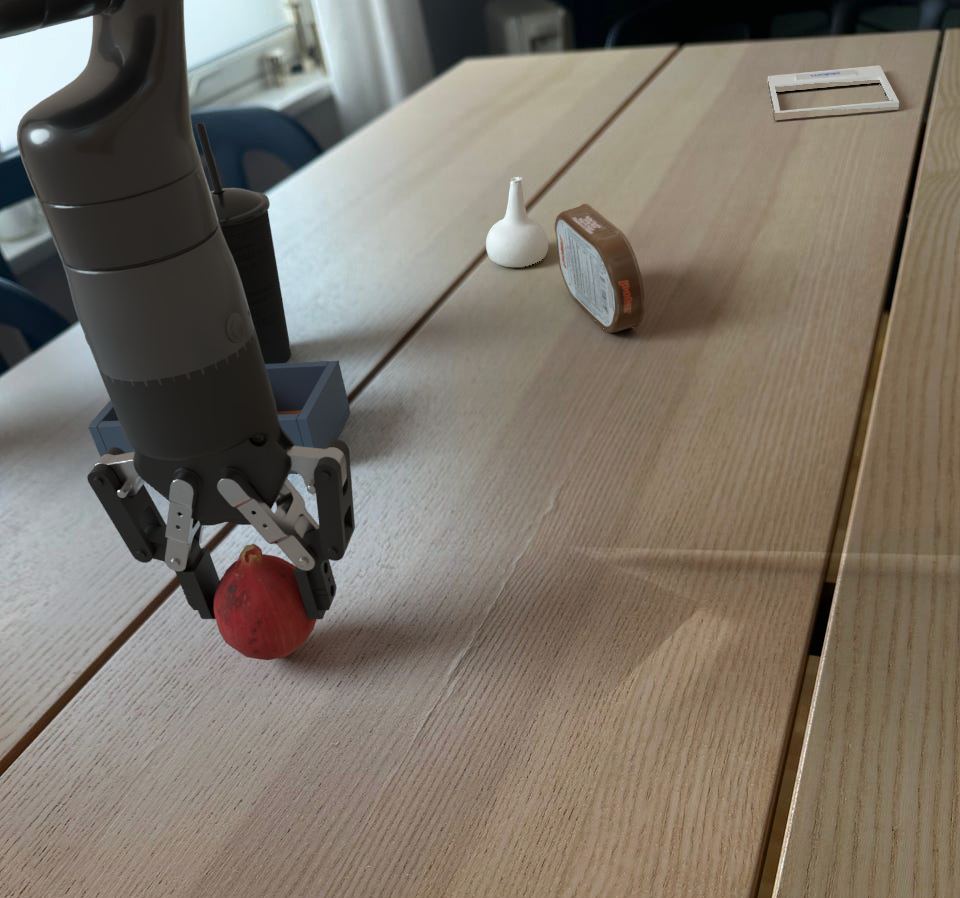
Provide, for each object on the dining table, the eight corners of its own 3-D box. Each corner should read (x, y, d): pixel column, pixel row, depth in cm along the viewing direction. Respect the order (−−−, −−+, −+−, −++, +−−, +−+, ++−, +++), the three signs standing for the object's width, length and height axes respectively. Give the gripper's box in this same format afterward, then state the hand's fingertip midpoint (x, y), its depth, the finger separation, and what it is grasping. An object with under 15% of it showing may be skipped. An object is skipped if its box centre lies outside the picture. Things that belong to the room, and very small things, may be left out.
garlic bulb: (494, 249, 107) (485, 169, 101) (553, 246, 105) (547, 165, 100) (482, 273, 102) (472, 191, 97) (544, 271, 101) (537, 187, 95)
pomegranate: (273, 703, 58) (234, 594, 53) (215, 663, 61) (172, 557, 56) (348, 647, 61) (318, 538, 56) (288, 612, 64) (255, 506, 59)
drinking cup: (283, 381, 89) (217, 137, 76) (209, 377, 92) (132, 141, 79) (320, 342, 94) (264, 108, 81) (249, 339, 97) (183, 112, 84)
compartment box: (109, 478, 80) (87, 426, 77) (154, 419, 87) (135, 369, 84) (321, 472, 77) (306, 418, 74) (350, 412, 83) (338, 360, 80)
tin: (648, 341, 86) (647, 242, 81) (613, 350, 86) (610, 251, 80) (584, 281, 97) (579, 190, 92) (554, 289, 97) (547, 198, 92)
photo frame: (880, 63, 137) (899, 100, 124) (878, 72, 138) (898, 110, 125) (768, 74, 140) (775, 111, 127) (767, 83, 141) (774, 120, 127)
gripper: (339, 294, 49) (400, 570, 60) (71, 311, 52) (176, 571, 63) (295, 366, 44) (371, 655, 55) (-2, 381, 46) (126, 653, 57)
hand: (266, 609), depth 59 cm, fingers closed on pomegranate, 6 cm apart
